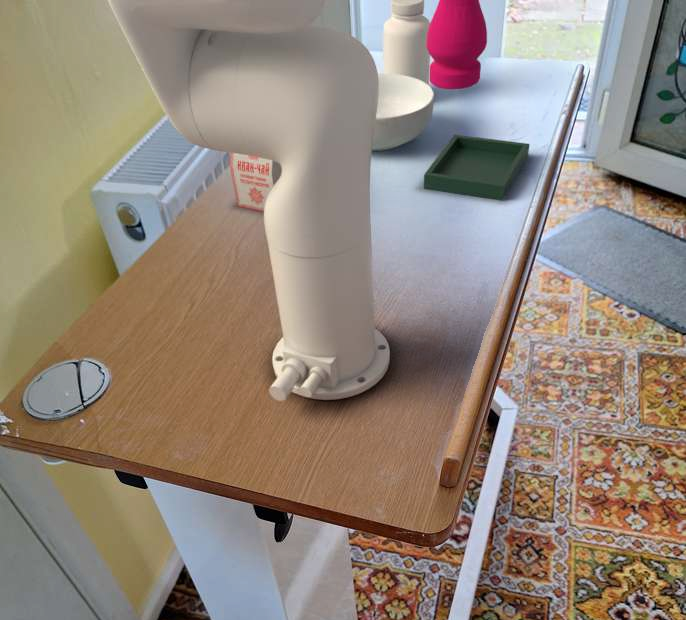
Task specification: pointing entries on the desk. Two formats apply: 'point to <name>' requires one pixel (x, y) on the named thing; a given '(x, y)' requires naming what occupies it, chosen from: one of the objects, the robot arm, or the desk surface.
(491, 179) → the tray
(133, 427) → the desk surface
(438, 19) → the pepper mill
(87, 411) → the desk surface
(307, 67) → the robot arm
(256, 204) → the printed tea carton
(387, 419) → the desk surface
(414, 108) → the cereal bowl
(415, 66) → the pill bottle
